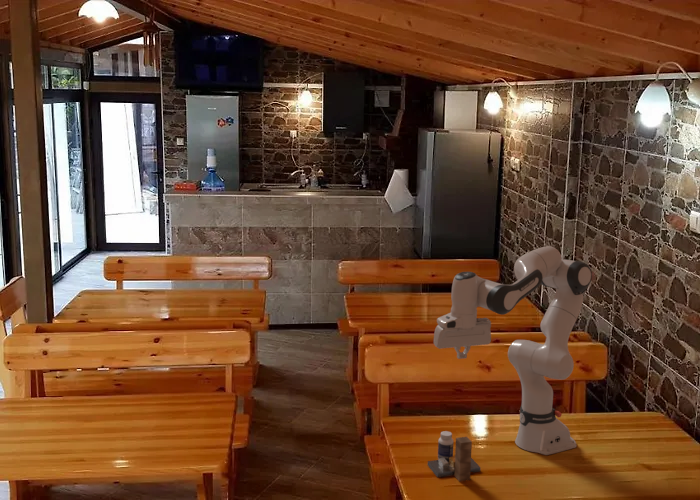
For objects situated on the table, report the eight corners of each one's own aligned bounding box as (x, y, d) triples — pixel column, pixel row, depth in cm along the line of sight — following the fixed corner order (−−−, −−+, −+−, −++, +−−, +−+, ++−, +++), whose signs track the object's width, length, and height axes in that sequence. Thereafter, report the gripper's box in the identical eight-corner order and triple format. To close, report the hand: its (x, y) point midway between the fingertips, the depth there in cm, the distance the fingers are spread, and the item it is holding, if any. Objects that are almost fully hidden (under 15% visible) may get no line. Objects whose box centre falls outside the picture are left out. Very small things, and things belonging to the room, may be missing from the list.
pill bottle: (452, 462, 269) (453, 437, 267) (437, 461, 270) (438, 435, 268) (453, 456, 274) (454, 430, 272) (438, 454, 275) (439, 429, 273)
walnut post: (465, 474, 261) (466, 436, 258) (470, 480, 257) (471, 441, 254) (454, 475, 260) (455, 437, 257) (459, 481, 256) (460, 443, 253)
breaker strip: (469, 459, 272) (469, 450, 271) (480, 471, 263) (480, 462, 262) (427, 465, 267) (427, 456, 267) (437, 477, 259) (437, 468, 258)
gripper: (487, 314, 265) (485, 352, 267) (432, 318, 259) (431, 357, 262) (495, 319, 259) (493, 358, 261) (439, 324, 253) (438, 363, 256)
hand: (461, 358), depth 261 cm, fingers closed
